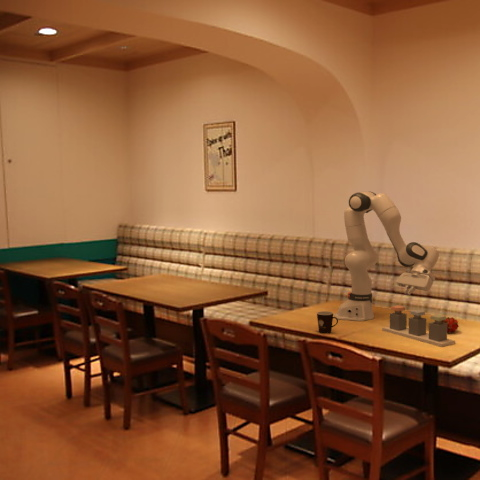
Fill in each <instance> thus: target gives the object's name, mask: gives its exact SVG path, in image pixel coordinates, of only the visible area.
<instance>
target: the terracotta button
mask: <svg viewBox="0 0 480 480" xmlns="http://www.w3.org/2000/svg"><path fill="white" fill-rule="evenodd" d="M390 308H391V309H390V310H391V311H394V313H395V314H397V315H400V314H402V313H403V311H406V307H405V306H402V305H398V304H397V305H393V306H391V307H390Z"/></svg>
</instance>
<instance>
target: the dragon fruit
mask: <svg viewBox="0 0 480 480" xmlns="http://www.w3.org/2000/svg"><path fill="white" fill-rule="evenodd" d="M442 322H443V323H447V334H448V333H452V334H453V333H456V332H457V330H458V329H459V327H460V325H459V324H458V322H459V321H458V320H457V319H455V318H454V317H448V316H447V317H446V320H442Z"/></svg>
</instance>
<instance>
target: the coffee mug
mask: <svg viewBox="0 0 480 480" xmlns="http://www.w3.org/2000/svg"><path fill="white" fill-rule="evenodd" d="M316 317H317V326H318V333H320V334H331V333H332V330H333V329H332V328H333V327H335V326H337V325H338V324H339V319H337V318H336V317H334V312H332V311H327V310H326V311H325V310H324V311H322V310H321V311H317V312H316ZM334 319H335V320H336V323H335V324H334V325H333V321H334Z"/></svg>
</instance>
